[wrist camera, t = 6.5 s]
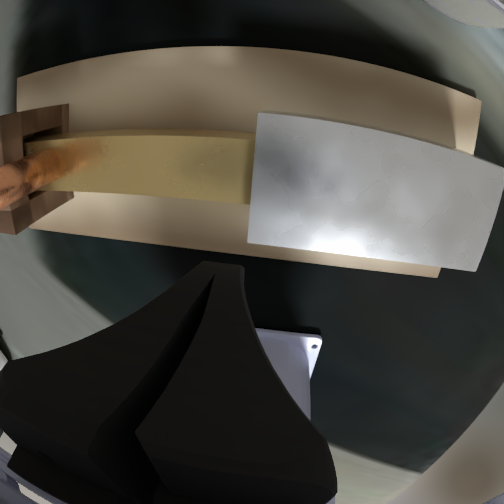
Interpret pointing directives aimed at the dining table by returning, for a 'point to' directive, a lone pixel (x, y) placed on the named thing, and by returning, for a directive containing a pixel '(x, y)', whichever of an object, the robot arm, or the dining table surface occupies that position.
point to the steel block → (369, 192)
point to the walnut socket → (11, 148)
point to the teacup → (472, 11)
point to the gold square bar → (135, 164)
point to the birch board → (231, 119)
